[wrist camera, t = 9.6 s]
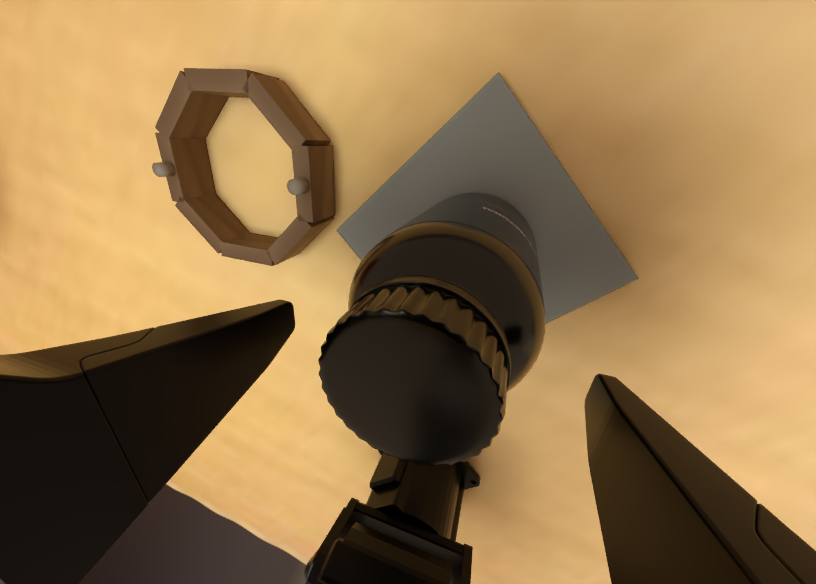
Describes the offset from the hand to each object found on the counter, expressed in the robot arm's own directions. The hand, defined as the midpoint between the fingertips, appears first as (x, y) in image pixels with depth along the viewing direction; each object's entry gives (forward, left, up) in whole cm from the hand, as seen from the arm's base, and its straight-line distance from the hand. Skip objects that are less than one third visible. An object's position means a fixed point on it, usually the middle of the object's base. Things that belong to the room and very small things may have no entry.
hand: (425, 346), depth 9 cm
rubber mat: (0, 0, -11) cm, 11 cm away
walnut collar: (+12, +8, -11) cm, 18 cm away
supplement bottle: (0, 0, -10) cm, 10 cm away
